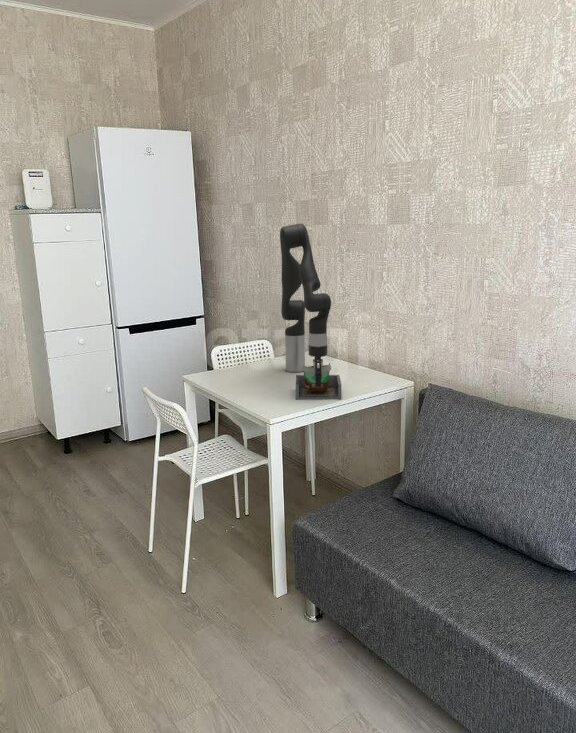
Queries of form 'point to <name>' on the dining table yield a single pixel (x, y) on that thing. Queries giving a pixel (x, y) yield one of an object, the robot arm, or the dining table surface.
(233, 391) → the dining table surface
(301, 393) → the keeper cradle
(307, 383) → the food container
